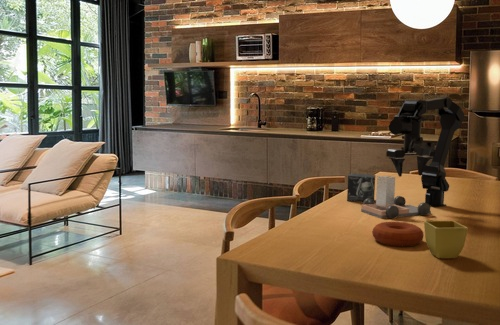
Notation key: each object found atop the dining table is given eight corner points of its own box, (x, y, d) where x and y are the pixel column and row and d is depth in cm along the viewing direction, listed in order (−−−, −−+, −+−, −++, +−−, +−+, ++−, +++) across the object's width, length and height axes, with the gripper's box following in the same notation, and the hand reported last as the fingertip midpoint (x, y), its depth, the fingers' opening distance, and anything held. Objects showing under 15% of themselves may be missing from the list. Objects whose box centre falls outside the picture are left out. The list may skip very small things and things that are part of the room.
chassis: (406, 206, 221) (406, 195, 220) (433, 214, 207) (434, 202, 206) (358, 210, 212) (359, 198, 211) (384, 219, 198) (384, 207, 197)
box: (346, 201, 229) (347, 175, 228) (348, 198, 236) (349, 173, 234) (373, 203, 226) (374, 177, 225) (374, 200, 233) (375, 174, 231)
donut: (432, 242, 170) (433, 226, 169) (406, 252, 159) (407, 234, 159) (389, 233, 180) (390, 217, 180) (361, 241, 170) (362, 224, 169)
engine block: (384, 209, 210) (385, 175, 209) (393, 211, 207) (395, 177, 205) (375, 210, 208) (377, 176, 206) (385, 212, 204) (386, 178, 202)
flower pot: (421, 251, 159) (423, 220, 158) (451, 251, 160) (453, 220, 159) (434, 261, 151) (436, 228, 149) (466, 261, 151) (468, 227, 150)
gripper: (406, 136, 199) (403, 180, 201) (447, 135, 206) (445, 178, 208) (386, 133, 209) (384, 175, 211) (426, 132, 216) (424, 173, 218)
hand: (410, 175), depth 212 cm, fingers open, 9 cm apart
